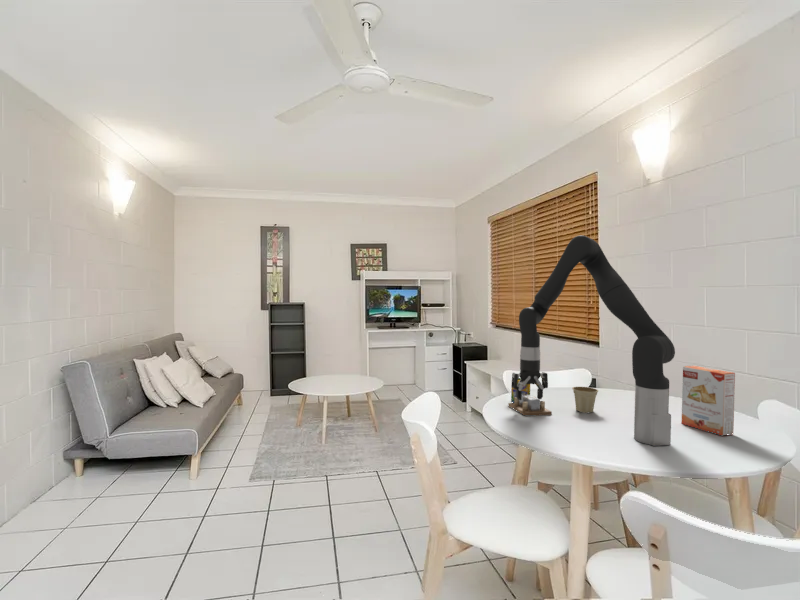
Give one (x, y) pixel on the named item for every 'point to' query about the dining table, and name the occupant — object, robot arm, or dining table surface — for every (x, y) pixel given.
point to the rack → (526, 411)
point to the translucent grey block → (530, 402)
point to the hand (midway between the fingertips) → (529, 399)
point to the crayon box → (524, 390)
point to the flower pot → (585, 398)
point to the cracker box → (708, 399)
